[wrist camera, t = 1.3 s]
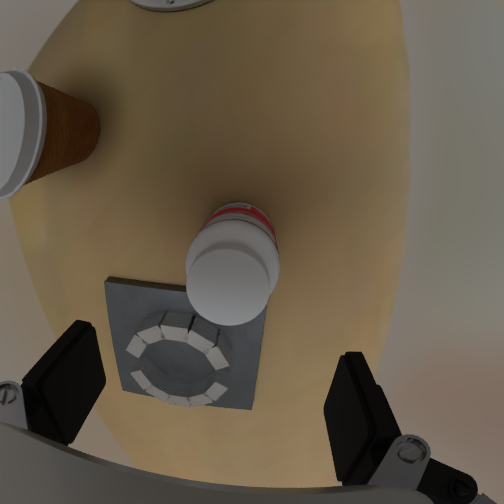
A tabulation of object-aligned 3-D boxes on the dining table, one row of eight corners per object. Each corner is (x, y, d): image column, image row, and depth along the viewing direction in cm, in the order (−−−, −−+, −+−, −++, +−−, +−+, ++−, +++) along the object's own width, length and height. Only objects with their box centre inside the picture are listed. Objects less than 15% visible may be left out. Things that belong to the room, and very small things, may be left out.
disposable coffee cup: (106, 186, 26) (22, 214, 14) (35, 174, 25) (-48, 195, 14) (124, 86, 23) (45, 57, 11) (49, 86, 22) (-34, 74, 11)
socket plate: (109, 276, 29) (92, 292, 25) (266, 294, 29) (267, 314, 25) (125, 384, 33) (115, 404, 30) (252, 402, 34) (251, 426, 30)
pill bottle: (240, 280, 28) (230, 353, 18) (191, 236, 27) (151, 289, 17) (289, 234, 27) (307, 289, 16) (238, 186, 26) (224, 210, 15)
